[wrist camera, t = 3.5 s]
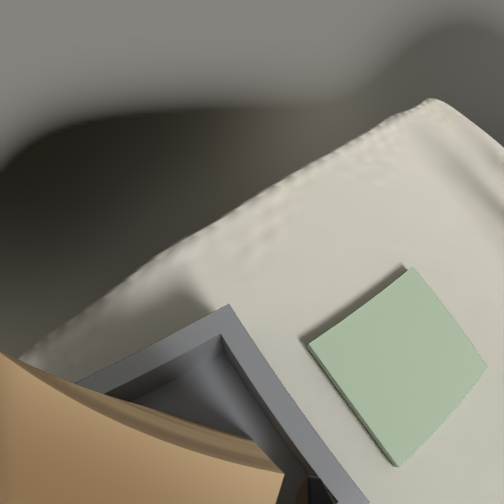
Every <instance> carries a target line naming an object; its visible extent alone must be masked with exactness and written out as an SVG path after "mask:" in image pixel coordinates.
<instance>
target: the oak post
mask: <svg viewBox="0 0 504 504" xmlns="http://www.w3.org/2000/svg"><path fill="white" fill-rule="evenodd" d="M283 478H284V473H283V472H282V471H281V470H280V469H279V468H278V467H277V466H276V465H275V464H274V463H273V461H272V460H271V459H270V458H269V457H268V456H267V455H266V454H265V453H264V452H263V451H262V450H261V448H260V447H259V446H258V445H257V444H256V443H255V442H254V441H253V439H252V438H249V437H245V436H241V435H238V434H234V433H230V432H226V431H223V430H219V429H216V428H212V427H209V426H206V425H203V424H199V423H196V422H193V421H190V420H187V419H184V418H181V417H178V416H175V415H173V414H170V413H167V412H164V411H160V410H156V409H153V408H149V407H145V406H141V405H138V404H134V403H131V402H127V401H124V400H121V399H117V398H114V397H111V396H108V395H105V394H102V393H99V392H96V391H93V390H90V389H87V388H84V387H82V386H79V385H76V384H73V383H71V382H68V381H66V380H63V379H61V378H58V377H56V376H53V375H51V374H48V373H46V372H44V371H41V370H39V369H37V368H35V367H32V366H30V365H28V364H26V363H24V362H22V361H19V360H17V359H15V358H13V357H11V356H9V355H7V354H5V353H3V352H1V351H0V504H275V503H276V500H277V497H278V494H279V491H280V487H281V484H282V481H283Z"/></svg>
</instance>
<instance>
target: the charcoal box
mask: <svg viewBox="0 0 504 504" xmlns="http://www.w3.org/2000/svg"><path fill="white" fill-rule="evenodd" d="M74 384H76V385H79V386H82V387H84V388H87V389H90V390H93V391H96V392H99V393H102V394H105V395H108V396H111V397H114V398H117V399H121V400H124V401H127V402H131V403H134V404H138V405H141V406H145V407H149V408H153V409H156V410H160V411H164V412H167V413H170V414H173V415H175V416H178V417H181V418H184V419H187V420H190V421H193V422H196V423H199V424H203V425H206V426H209V427H212V428H216V429H219V430H223V431H226V432H230V433H234V434H238V435H241V436H245V437H249V438H252V439H253V441H254V442H255V443H256V444H257V445H258V446H259V447H260V448H261V450H262V451H263V452H264V453H265V454H266V455H267V456H268V457H269V458H270V459H271V460H272V461H273V463H274V464H275V465H276V466H277V467H278V468H279V469H280V470H281V471H282V472H283V473H284V478H283V481H282V484H281V487H280V491H279V494H278V497H277V500H276V503H275V504H295V501H296V495H297V492H298V489H299V488H300V486H301V484H302V483H303V481H304V480H305V478H306V477H307V476H314V477H319V478H321V479H322V481H323V483H324V485H325V487H326V489H327V491H328V493H329V495H330V496H331V498H332V500H333V502H334V504H369V503H370V502H369V500H368V499H367V498H366V497H365V495H364V494H363V493H362V492H361V490H360V489H359V488H358V486H357V485H356V484H355V483H354V481H353V480H352V479H351V477H350V476H349V475H348V474H347V472H346V471H345V470H344V468H343V467H342V466H341V464H340V463H339V462H338V460H337V459H336V458H335V456H334V455H333V454H332V452H331V451H330V450H329V448H328V447H327V446H326V444H325V443H324V442H323V440H322V439H321V437H320V436H319V435H318V433H317V432H316V431H315V429H314V428H313V427H312V425H311V424H310V422H309V421H308V420H307V418H306V417H305V415H304V414H303V413H302V411H301V410H300V408H299V407H298V406H297V404H296V403H295V401H294V400H293V398H292V397H291V396H290V394H289V393H288V391H287V390H286V388H285V387H284V386H283V384H282V383H281V381H280V380H279V378H278V377H277V375H276V374H275V372H274V371H273V370H272V368H271V367H270V365H269V364H268V362H267V361H266V359H265V358H264V356H263V355H262V353H261V352H260V350H259V349H258V347H257V346H256V344H255V343H254V341H253V340H252V338H251V337H250V335H249V334H248V332H247V331H246V329H245V328H244V326H243V325H242V323H241V322H240V320H239V318H238V317H237V315H236V314H235V312H234V311H233V309H232V308H231V306H230V305H229V304H227V305H226V306H224V307H222V308H220V309H218V310H216V311H215V312H213V313H211V314H209V315H207V316H205V317H203V318H202V319H200V320H198V321H196V322H194V323H192V324H190V325H188V326H187V327H185V328H183V329H181V330H179V331H177V332H175V333H173V334H171V335H169V336H168V337H166V338H164V339H162V340H160V341H158V342H156V343H154V344H152V345H150V346H148V347H146V348H144V349H142V350H140V351H138V352H136V353H135V354H133V355H131V356H129V357H127V358H125V359H123V360H121V361H119V362H117V363H115V364H113V365H111V366H109V367H107V368H105V369H103V370H101V371H99V372H97V373H95V374H93V375H90V376H88V377H86V378H84V379H82V380H80V381H78V382H76V383H74Z"/></svg>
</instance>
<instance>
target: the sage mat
mask: <svg viewBox="0 0 504 504" xmlns="http://www.w3.org/2000/svg"><path fill="white" fill-rule="evenodd" d="M307 348H308V349H309V351H310V352H311V353H312V355H313V356H314V358H315V359H316V360H317V362H318V363H319V365H320V366H321V367H322V369H323V370H324V371H325V373H326V374H327V376H328V377H329V378H330V380H331V381H332V383H333V384H334V385H335V387H336V388H337V389H338V391H339V392H340V394H341V395H342V396H343V398H344V399H345V400H346V402H347V403H348V405H349V406H350V407H351V409H352V410H353V411H354V413H355V414H356V415H357V417H358V418H359V420H360V421H361V422H362V424H363V425H364V426H365V428H366V429H367V430H368V432H369V433H370V435H371V436H372V437H373V439H374V440H375V441H376V443H377V444H378V445H379V447H380V448H381V449H382V451H383V452H384V454H385V455H386V456H387V458H388V459H389V460H390V462H391V463H392V464H393V466H394V467H400V466H401V465H402V464H403V463H404V462H405V461H406V460H407V459H408V458H410V457H411V456H412V455H413V454H414V453H415V452H416V451H417V450H418V449H419V448H420V447H421V446H422V445H423V444H424V443H425V442H426V441H427V440H428V439H429V438H430V437H431V436H432V435H433V434H434V432H435V431H436V430H437V429H438V428H439V427H440V426H441V425H442V424H443V423H444V422H445V420H446V419H447V418H448V417H449V416H450V415H451V414H452V412H453V411H454V410H455V409H456V408H457V406H458V405H459V404H460V403H461V402H462V400H463V399H464V398H465V397H466V395H467V394H468V393H469V392H470V390H471V389H472V388H473V386H474V385H475V384H476V382H477V381H478V380H479V378H480V377H481V376H482V374H483V373H484V371H485V370H486V369H487V367H488V366H487V365H486V363H485V362H484V360H483V359H482V357H481V356H480V354H479V353H478V351H477V350H476V348H475V347H474V345H473V344H472V342H471V341H470V340H469V338H468V337H467V335H466V334H465V333H464V331H463V330H462V328H461V327H460V326H459V324H458V323H457V322H456V320H455V319H454V318H453V316H452V315H451V314H450V312H449V311H448V310H447V308H446V307H445V306H444V304H443V303H442V302H441V300H440V299H439V298H438V297H437V295H436V294H435V293H434V292H433V290H432V289H431V288H430V287H429V285H428V284H427V283H426V282H425V280H424V279H423V278H422V277H421V276H420V274H419V273H418V272H417V271H416V269H415V268H414V267H411V268H410V269H409V270H408V271H406V272H405V273H404V274H403V275H402V276H400V277H399V278H398V279H397V280H395V281H394V282H393V283H392V284H390V285H389V286H388V287H386V288H385V289H384V290H383V291H381V292H380V293H379V294H377V295H376V296H375V297H374V298H372V299H371V300H370V301H368V302H367V303H366V304H364V305H363V306H362V307H360V308H359V309H358V310H356V311H355V312H353V313H352V314H351V315H349V316H348V317H347V318H345V319H344V320H342V321H341V322H340V323H338V324H337V325H335V326H334V327H332V328H331V329H330V330H328V331H327V332H325V333H324V334H322V335H321V336H319V337H318V338H316V339H315V340H313V341H312V342H310V343H309V344H308V345H307Z"/></svg>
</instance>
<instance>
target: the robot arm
mask: <svg viewBox="0 0 504 504" xmlns="http://www.w3.org/2000/svg"><path fill="white" fill-rule="evenodd" d="M295 504H334V502H333V500H332V498H331V496H330V495H329V493H328V491H327V489H326V487H325V485H324V483H323V481H322V479H321V478H319V477H314V476H307V477H306V478H305V480H304V481H303V483H302V484H301V486H300V488H299V489H298V492H297V495H296V501H295Z"/></svg>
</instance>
